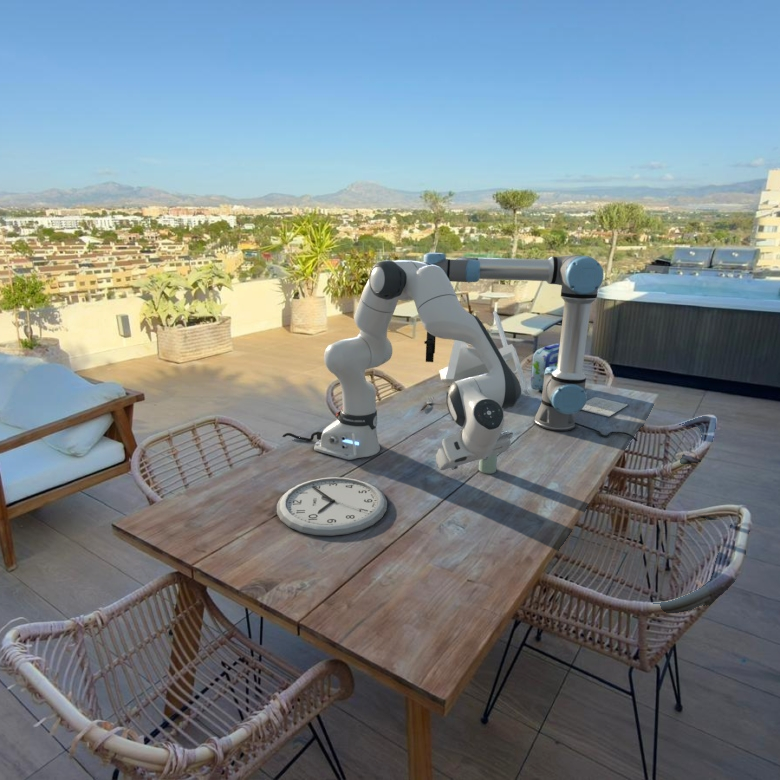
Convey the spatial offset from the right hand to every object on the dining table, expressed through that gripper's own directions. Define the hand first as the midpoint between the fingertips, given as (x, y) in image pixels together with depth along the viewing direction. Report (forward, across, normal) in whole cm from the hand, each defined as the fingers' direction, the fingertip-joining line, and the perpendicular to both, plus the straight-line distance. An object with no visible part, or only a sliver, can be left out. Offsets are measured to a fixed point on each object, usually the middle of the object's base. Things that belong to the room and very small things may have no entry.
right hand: (430, 357), depth 190 cm
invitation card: (+28, -38, +73) cm, 87 cm away
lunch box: (+28, -63, +56) cm, 89 cm away
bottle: (+28, +32, +21) cm, 47 cm away
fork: (+28, -26, -2) cm, 38 cm away
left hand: (+17, +50, +14) cm, 55 cm away
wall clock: (+28, +61, -23) cm, 71 cm away
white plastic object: (+28, -50, +22) cm, 61 cm away
